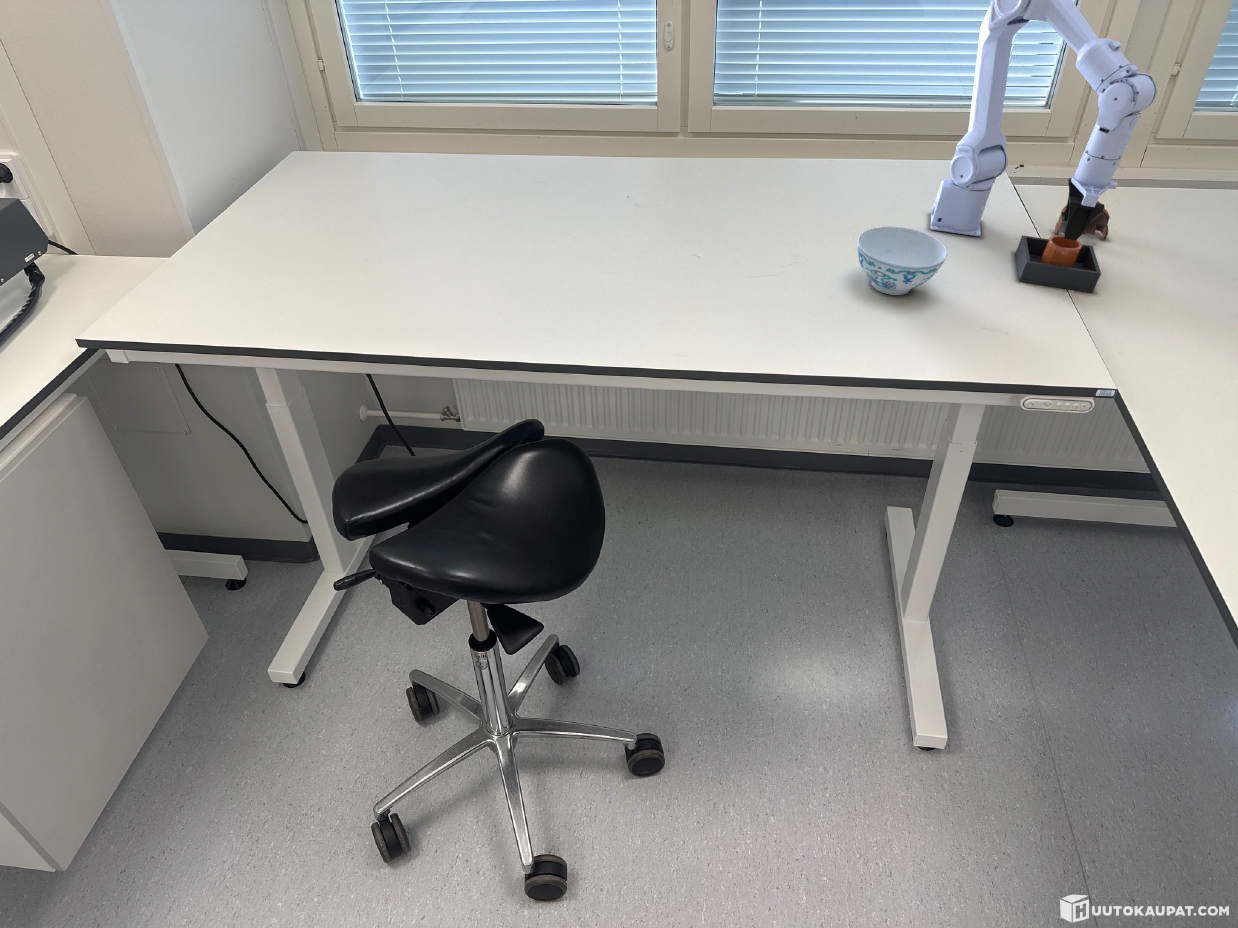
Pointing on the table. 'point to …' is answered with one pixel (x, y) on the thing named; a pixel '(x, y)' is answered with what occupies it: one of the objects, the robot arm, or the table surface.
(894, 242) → the chinaware
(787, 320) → the table surface
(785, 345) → the table surface
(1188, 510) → the table surface
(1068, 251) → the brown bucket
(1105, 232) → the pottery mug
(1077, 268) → the tray
